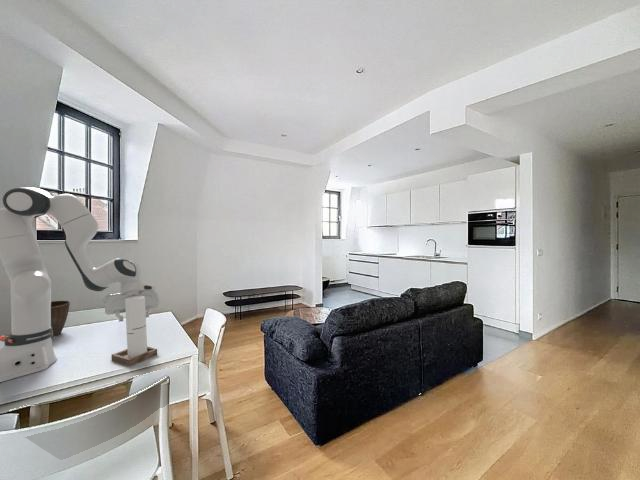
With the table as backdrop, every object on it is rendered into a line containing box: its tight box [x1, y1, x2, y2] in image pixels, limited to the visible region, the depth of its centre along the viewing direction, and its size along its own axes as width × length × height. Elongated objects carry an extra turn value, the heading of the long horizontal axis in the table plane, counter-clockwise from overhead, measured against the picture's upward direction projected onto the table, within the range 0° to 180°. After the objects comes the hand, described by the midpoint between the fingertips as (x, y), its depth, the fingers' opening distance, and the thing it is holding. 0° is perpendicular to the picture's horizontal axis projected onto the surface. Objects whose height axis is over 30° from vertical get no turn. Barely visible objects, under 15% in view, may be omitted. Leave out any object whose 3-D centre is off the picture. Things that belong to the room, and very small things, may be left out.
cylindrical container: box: [125, 296, 148, 359], centre depth 120 cm, size 7×7×25 cm
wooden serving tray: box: [111, 345, 158, 367], centre depth 120 cm, size 12×12×2 cm
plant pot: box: [51, 300, 71, 337], centre depth 145 cm, size 15×15×16 cm
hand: (134, 318), depth 120 cm, fingers open, 8 cm apart
